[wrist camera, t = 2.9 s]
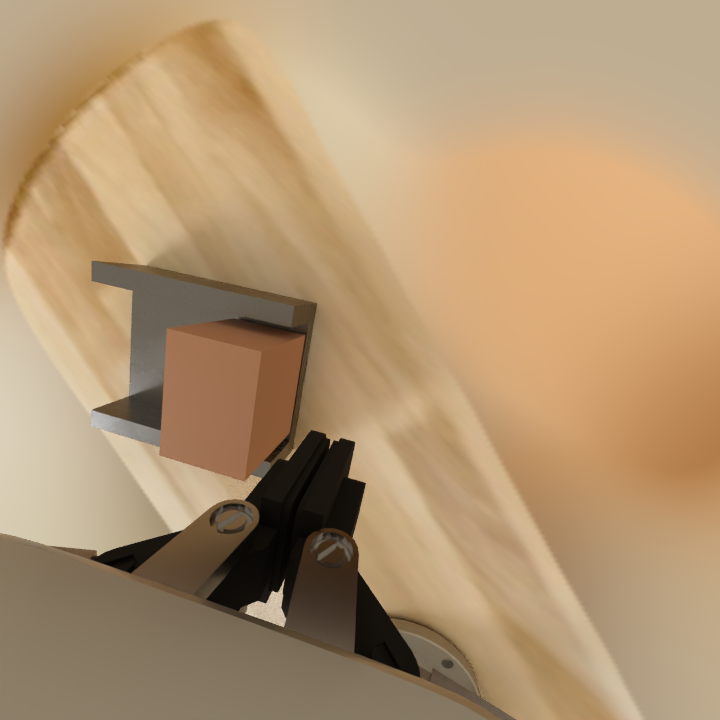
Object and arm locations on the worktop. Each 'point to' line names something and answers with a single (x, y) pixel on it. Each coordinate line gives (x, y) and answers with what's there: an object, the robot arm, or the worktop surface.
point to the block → (228, 394)
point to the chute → (180, 308)
